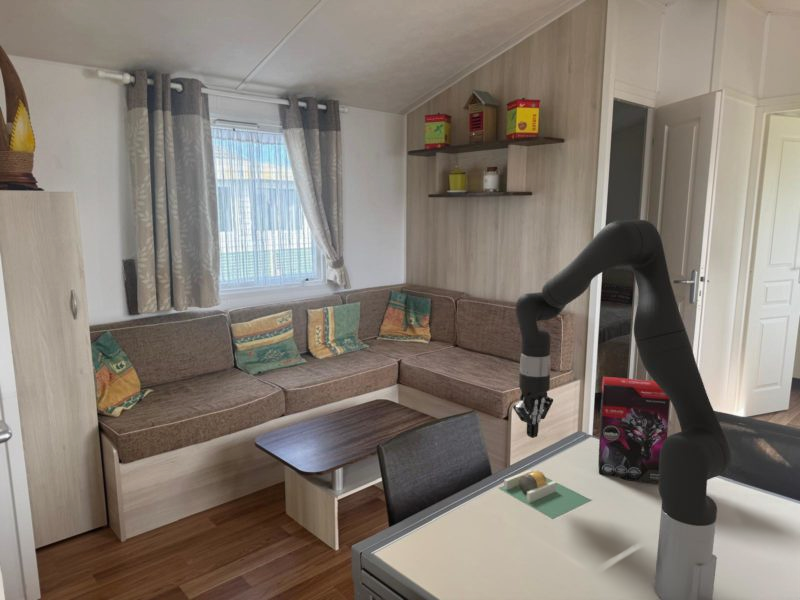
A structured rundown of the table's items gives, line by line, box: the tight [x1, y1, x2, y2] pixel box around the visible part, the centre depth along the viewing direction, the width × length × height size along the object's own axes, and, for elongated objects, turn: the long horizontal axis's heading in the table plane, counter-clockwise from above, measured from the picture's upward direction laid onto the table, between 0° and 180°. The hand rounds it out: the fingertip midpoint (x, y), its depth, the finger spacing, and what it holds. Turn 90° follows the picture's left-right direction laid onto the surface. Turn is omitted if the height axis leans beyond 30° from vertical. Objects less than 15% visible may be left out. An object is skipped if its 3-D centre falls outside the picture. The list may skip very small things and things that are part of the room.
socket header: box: [503, 469, 557, 503], centre depth 147 cm, size 9×10×2 cm
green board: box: [498, 476, 592, 520], centre depth 145 cm, size 18×15×1 cm
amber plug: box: [519, 470, 547, 495], centre depth 146 cm, size 5×5×5 cm
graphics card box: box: [597, 376, 671, 485], centre depth 155 cm, size 17×7×27 cm, turn 73°
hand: (532, 436), depth 145 cm, fingers closed
